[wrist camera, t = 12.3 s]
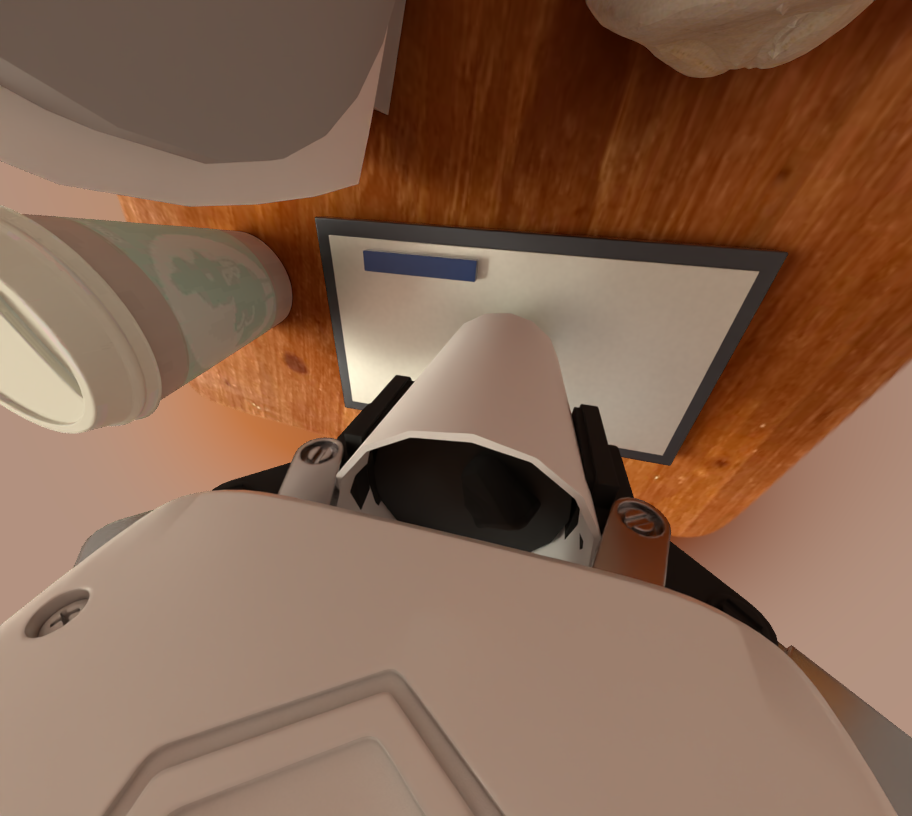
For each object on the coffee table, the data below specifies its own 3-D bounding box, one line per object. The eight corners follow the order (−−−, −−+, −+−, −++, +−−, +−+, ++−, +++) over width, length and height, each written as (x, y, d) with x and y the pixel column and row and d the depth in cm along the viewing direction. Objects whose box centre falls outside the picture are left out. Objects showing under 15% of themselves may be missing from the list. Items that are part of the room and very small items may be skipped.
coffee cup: (311, 360, 23) (137, 473, 13) (204, 319, 24) (-43, 400, 14) (314, 231, 18) (45, 259, 8) (180, 183, 19) (-231, 154, 9)
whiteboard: (774, 249, 14) (802, 254, 13) (665, 455, 21) (674, 474, 19) (325, 216, 18) (305, 217, 16) (352, 400, 24) (339, 413, 23)
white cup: (517, 270, 14) (482, 368, 5) (594, 387, 16) (656, 590, 7) (410, 353, 17) (284, 495, 9) (485, 441, 19) (442, 626, 11)
